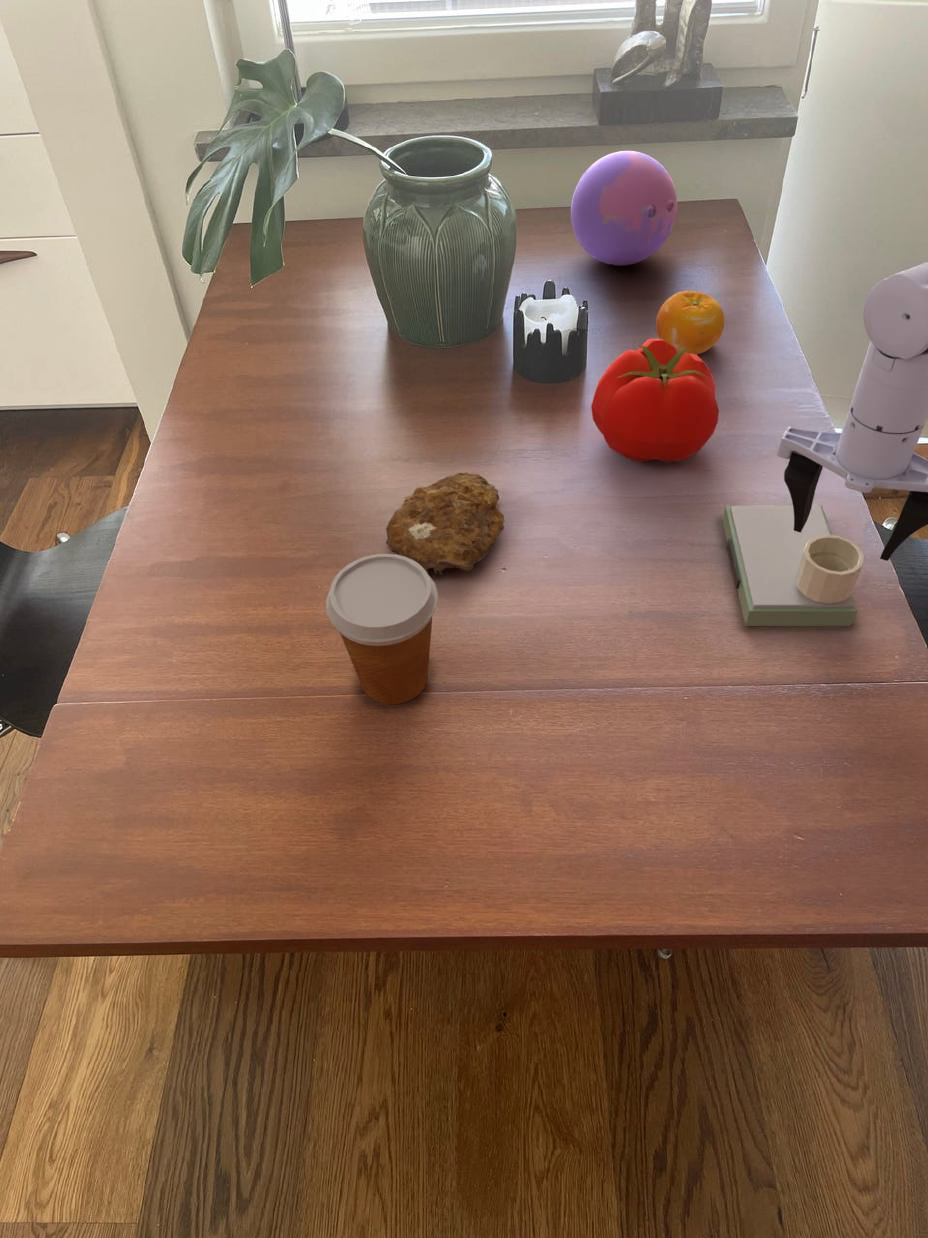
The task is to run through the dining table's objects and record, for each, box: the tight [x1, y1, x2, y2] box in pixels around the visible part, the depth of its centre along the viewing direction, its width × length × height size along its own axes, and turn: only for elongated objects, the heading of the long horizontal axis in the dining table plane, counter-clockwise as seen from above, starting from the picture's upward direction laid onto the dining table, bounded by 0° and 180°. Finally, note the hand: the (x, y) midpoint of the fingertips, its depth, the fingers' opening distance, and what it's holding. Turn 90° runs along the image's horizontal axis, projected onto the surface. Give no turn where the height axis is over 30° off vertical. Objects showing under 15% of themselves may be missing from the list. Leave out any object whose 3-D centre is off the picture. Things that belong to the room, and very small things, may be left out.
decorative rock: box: [385, 472, 506, 576], centre depth 98 cm, size 11×4×15 cm
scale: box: [721, 504, 858, 627], centre depth 92 cm, size 15×10×3 cm
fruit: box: [655, 290, 725, 355], centre depth 119 cm, size 8×8×8 cm
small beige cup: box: [795, 534, 865, 604], centre depth 86 cm, size 5×5×4 cm
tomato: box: [590, 338, 720, 463], centre depth 103 cm, size 13×14×12 cm
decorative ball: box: [570, 150, 678, 266], centre depth 132 cm, size 15×15×15 cm
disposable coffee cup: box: [325, 553, 439, 705], centre depth 82 cm, size 10×10×12 cm
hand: (842, 538), depth 83 cm, fingers open, 7 cm apart
